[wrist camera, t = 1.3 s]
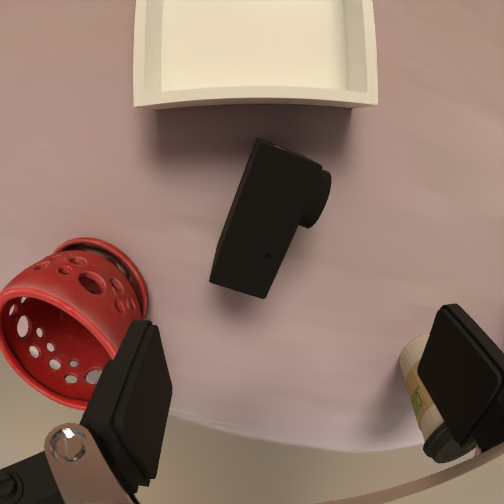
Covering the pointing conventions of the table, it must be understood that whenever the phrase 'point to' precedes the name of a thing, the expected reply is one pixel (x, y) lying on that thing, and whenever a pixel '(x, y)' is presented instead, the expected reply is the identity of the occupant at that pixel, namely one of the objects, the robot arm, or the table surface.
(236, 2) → the box
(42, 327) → the plant pot
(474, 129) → the table surface
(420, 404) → the coffee cup
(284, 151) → the digital camera
